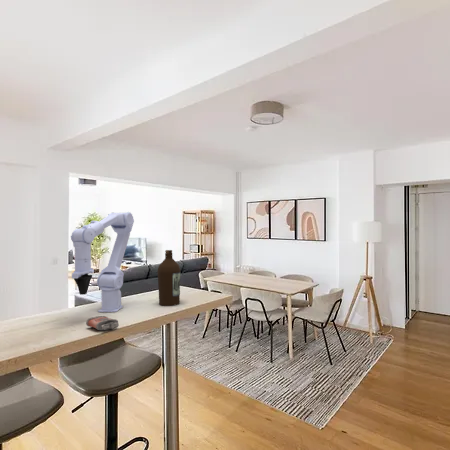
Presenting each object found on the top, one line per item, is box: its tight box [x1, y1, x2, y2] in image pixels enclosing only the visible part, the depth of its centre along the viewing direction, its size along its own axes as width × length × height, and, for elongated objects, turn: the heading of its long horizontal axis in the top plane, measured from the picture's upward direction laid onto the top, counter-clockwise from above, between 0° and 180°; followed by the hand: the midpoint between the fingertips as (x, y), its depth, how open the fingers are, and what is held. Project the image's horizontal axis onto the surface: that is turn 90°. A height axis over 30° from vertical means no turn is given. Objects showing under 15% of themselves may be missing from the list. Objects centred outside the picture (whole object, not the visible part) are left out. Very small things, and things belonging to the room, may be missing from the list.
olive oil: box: [156, 249, 181, 307], centre depth 149 cm, size 11×11×25 cm
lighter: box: [85, 315, 119, 331], centre depth 113 cm, size 8×3×10 cm
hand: (83, 294), depth 123 cm, fingers closed
